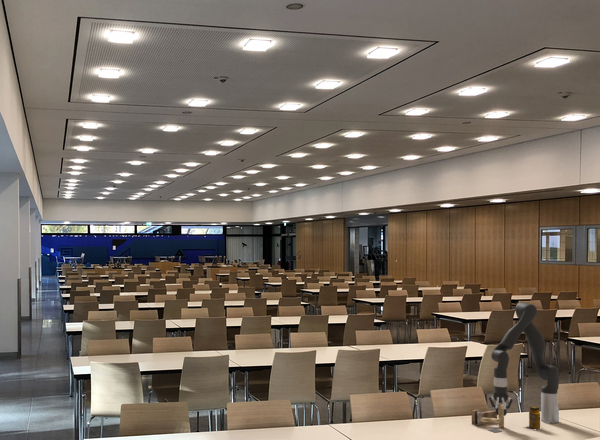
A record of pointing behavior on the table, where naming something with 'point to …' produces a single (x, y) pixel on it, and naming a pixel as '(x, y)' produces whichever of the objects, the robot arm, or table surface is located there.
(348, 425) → the table surface
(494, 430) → the foot pad
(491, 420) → the wooden frame
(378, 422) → the table surface
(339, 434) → the table surface
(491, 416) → the walnut rail
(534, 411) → the condiment
